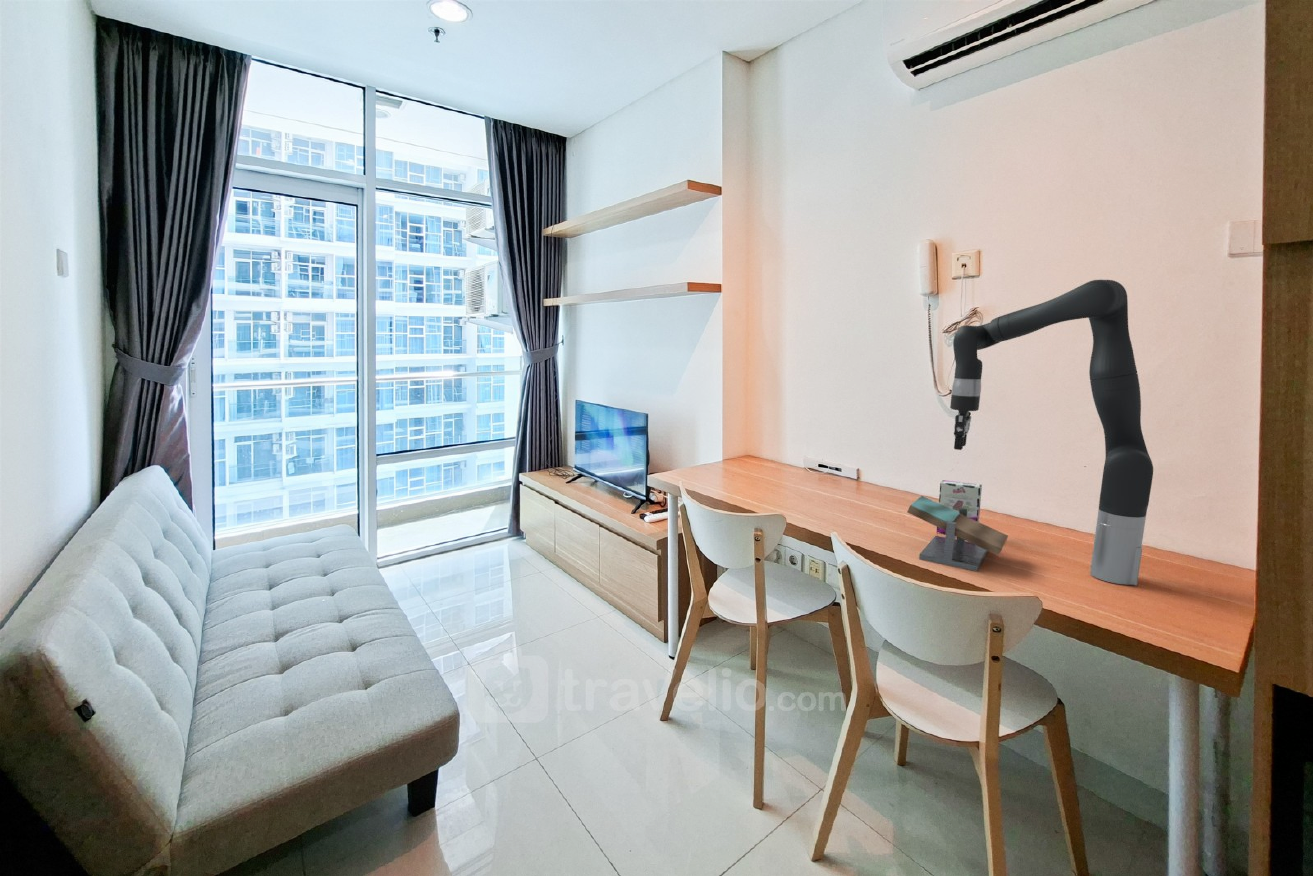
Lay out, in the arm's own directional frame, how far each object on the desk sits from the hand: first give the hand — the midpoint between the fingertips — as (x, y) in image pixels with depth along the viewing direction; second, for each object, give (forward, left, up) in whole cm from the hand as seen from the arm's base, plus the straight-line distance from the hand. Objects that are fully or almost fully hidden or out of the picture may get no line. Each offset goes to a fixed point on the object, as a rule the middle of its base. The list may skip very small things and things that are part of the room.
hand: (959, 447), depth 171 cm
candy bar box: (-1, -3, -28) cm, 28 cm away
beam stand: (-4, +18, -28) cm, 33 cm away
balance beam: (-4, +18, -19) cm, 26 cm away
